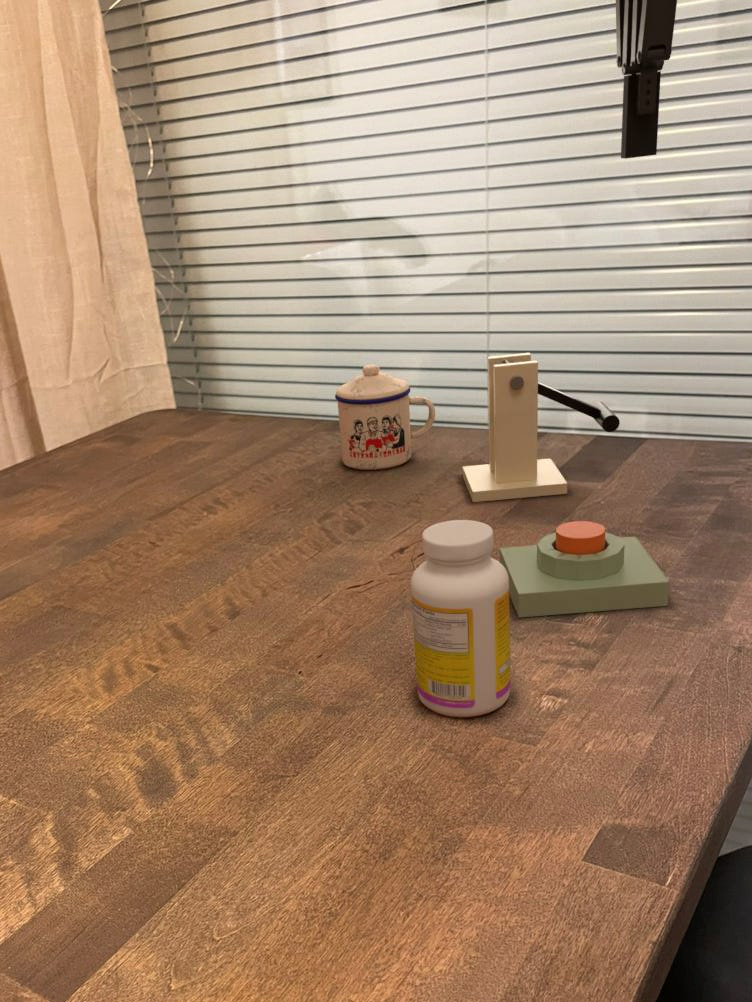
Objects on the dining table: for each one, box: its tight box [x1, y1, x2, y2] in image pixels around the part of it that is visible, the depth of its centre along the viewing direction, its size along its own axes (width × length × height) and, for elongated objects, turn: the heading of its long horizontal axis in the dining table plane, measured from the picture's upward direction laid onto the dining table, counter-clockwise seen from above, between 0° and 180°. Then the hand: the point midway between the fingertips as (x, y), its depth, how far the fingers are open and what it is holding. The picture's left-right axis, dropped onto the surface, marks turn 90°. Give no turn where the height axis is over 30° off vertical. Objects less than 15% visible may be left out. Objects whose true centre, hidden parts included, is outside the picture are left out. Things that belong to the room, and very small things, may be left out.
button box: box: [499, 531, 670, 619], centre depth 86 cm, size 12×10×4 cm
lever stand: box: [462, 352, 568, 503], centre depth 109 cm, size 10×9×14 cm
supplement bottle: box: [410, 519, 511, 718], centre depth 70 cm, size 7×7×13 cm
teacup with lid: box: [334, 364, 436, 471], centre depth 123 cm, size 12×9×12 cm
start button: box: [555, 520, 607, 555], centre depth 85 cm, size 4×4×2 cm
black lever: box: [502, 359, 621, 433], centre depth 107 cm, size 13×6×2 cm, turn 87°
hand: (638, 156), depth 90 cm, fingers closed
